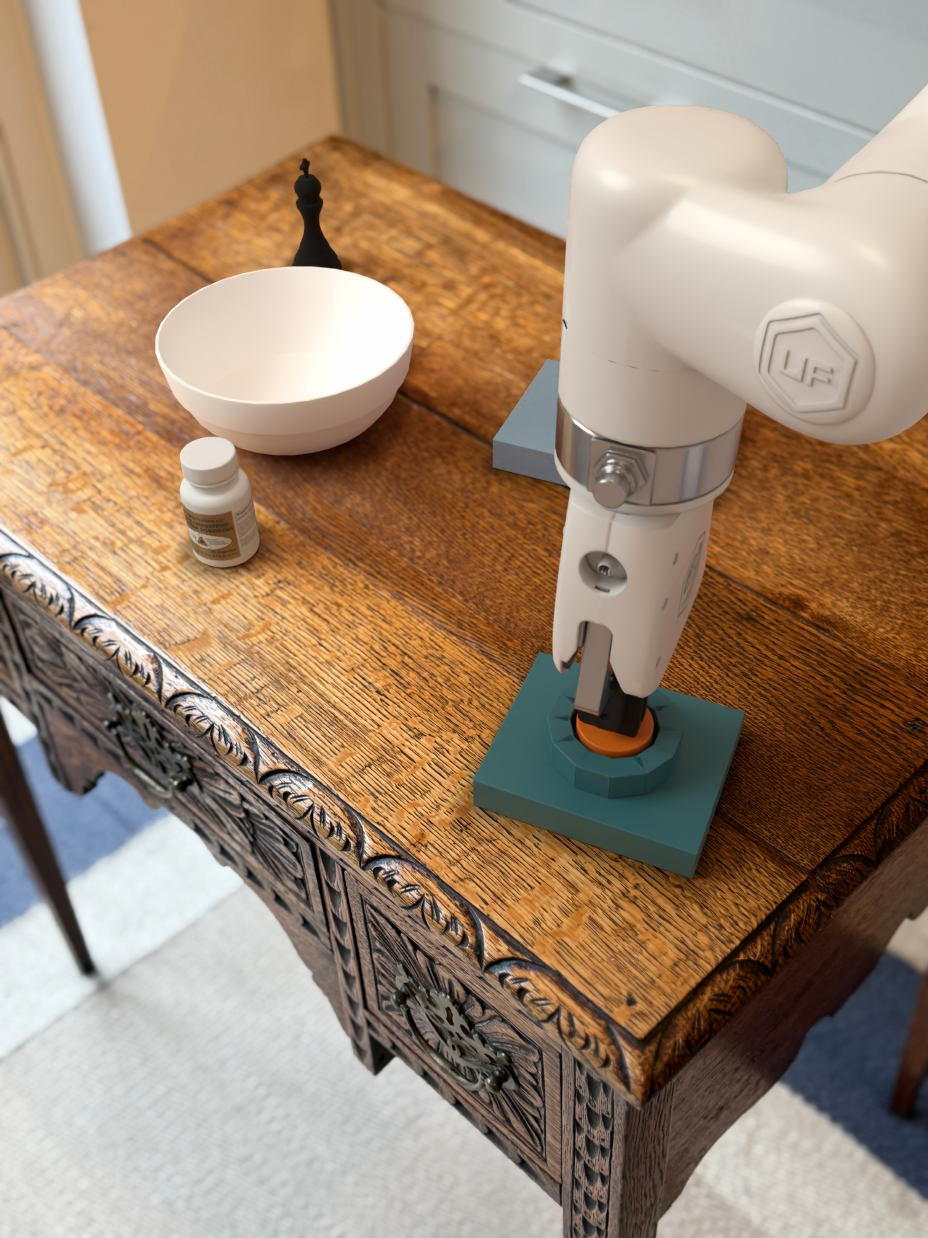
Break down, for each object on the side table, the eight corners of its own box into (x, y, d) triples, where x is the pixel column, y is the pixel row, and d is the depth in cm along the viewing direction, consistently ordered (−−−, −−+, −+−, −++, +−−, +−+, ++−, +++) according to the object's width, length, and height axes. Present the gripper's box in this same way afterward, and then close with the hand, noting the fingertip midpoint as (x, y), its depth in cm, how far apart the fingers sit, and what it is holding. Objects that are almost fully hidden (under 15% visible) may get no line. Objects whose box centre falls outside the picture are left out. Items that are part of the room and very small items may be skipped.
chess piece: (283, 278, 103) (268, 165, 96) (303, 254, 106) (290, 144, 99) (330, 285, 102) (319, 172, 95) (349, 261, 105) (339, 150, 98)
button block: (739, 737, 66) (751, 689, 63) (692, 880, 59) (702, 833, 57) (538, 676, 69) (540, 628, 66) (472, 805, 63) (471, 758, 60)
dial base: (725, 426, 87) (730, 396, 85) (685, 515, 79) (689, 484, 78) (546, 386, 91) (547, 356, 89) (492, 467, 84) (492, 437, 82)
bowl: (127, 464, 84) (104, 377, 79) (239, 333, 97) (225, 251, 92) (366, 512, 80) (358, 424, 75) (451, 369, 92) (449, 285, 87)
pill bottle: (180, 560, 77) (157, 465, 72) (215, 519, 80) (195, 425, 74) (239, 576, 76) (220, 481, 70) (272, 534, 79) (256, 440, 73)
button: (659, 726, 63) (663, 705, 62) (637, 782, 61) (640, 760, 60) (589, 705, 64) (590, 683, 63) (564, 758, 62) (566, 737, 61)
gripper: (686, 568, 43) (638, 855, 56) (777, 357, 52) (717, 643, 65) (494, 516, 45) (490, 805, 58) (615, 323, 54) (589, 607, 67)
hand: (611, 718), depth 61 cm, fingers closed
